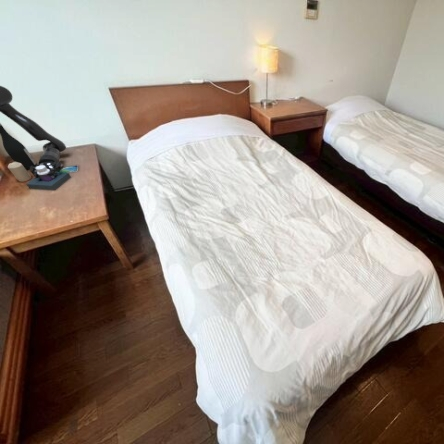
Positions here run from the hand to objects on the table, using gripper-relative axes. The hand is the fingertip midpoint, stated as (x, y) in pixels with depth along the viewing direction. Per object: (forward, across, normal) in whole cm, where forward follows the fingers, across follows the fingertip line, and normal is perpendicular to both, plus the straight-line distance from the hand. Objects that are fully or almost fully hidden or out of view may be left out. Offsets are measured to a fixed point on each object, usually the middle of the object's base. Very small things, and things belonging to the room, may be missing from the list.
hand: (43, 175), depth 130 cm
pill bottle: (-3, 0, +6) cm, 7 cm away
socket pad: (-2, 0, +6) cm, 6 cm away
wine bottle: (-24, -14, +6) cm, 29 cm away
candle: (-11, -13, +6) cm, 18 cm away
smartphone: (-14, +3, +7) cm, 16 cm away
